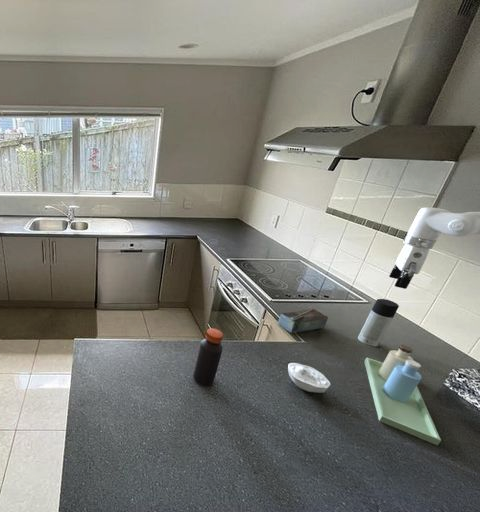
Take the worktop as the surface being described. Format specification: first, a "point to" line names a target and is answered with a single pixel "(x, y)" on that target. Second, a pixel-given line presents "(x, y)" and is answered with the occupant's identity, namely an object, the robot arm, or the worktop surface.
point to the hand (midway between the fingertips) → (397, 282)
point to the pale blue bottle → (402, 381)
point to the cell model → (308, 378)
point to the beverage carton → (302, 320)
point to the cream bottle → (394, 361)
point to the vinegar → (208, 358)
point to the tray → (401, 408)
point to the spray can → (378, 322)
